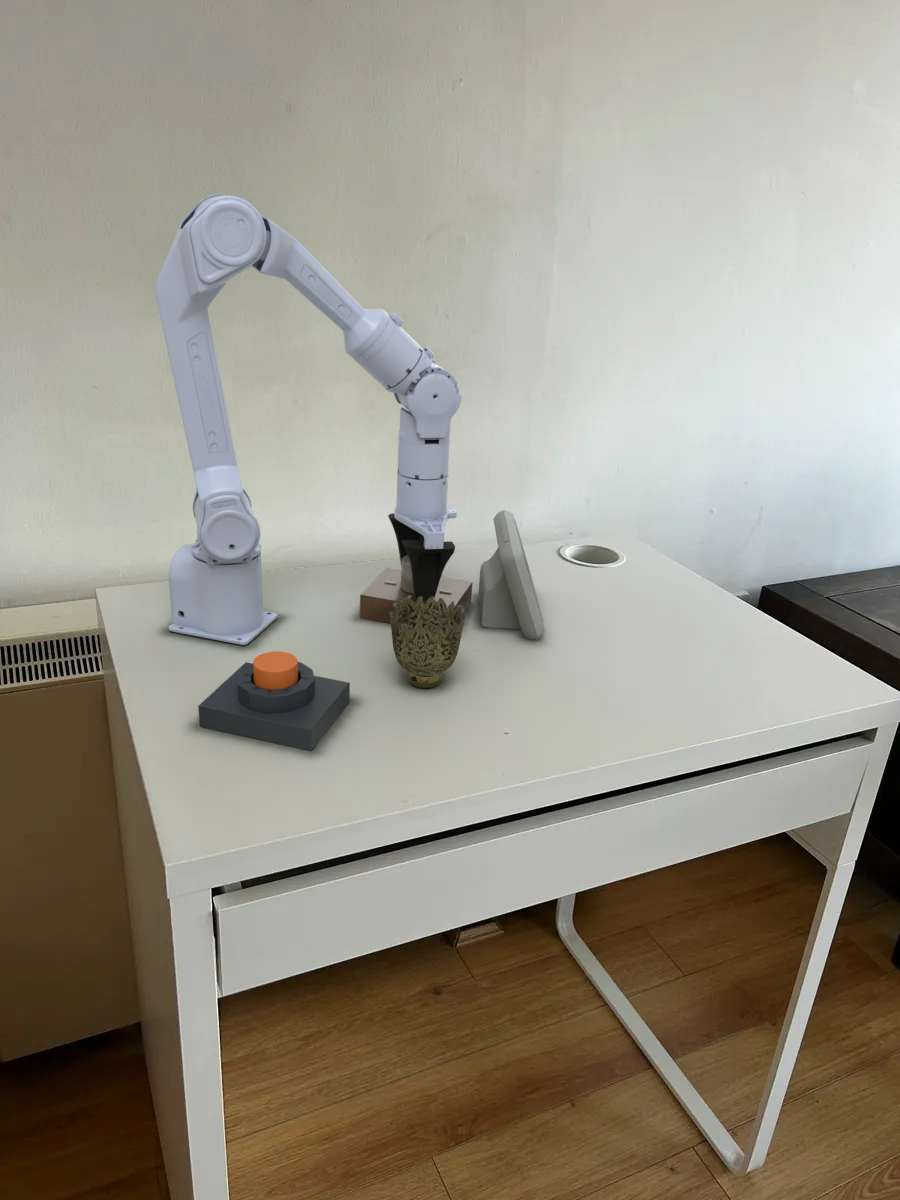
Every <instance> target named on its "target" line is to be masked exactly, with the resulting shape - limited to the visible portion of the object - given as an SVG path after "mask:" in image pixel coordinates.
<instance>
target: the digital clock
mask: <svg viewBox="0 0 900 1200" xmlns="http://www.w3.org/2000/svg"><path fill="white" fill-rule="evenodd" d="M517 524H518V523H517V522H516V518H515V516H514V513H513V512H511V511H508V510H506V509H502V510H500V511H498V512H497V513H496V515H495V516H494V517H493V525H494V531H495V536H496V542H497V549H496V550H495V551H494V553H493V554H492V556H491V557H490V558H489V559H487V560H486V561H483V562H482V563H481V566H480V569H479V581H478V594H477V595H478V605H479V615H480V624H481V626H482V627H484V628H487V629H488V628H489V629H490V628H492V629H510V630H511V629H512V630H521V632H522V636H524V637H525V638H528V639H530V640H537V639H539V638H540V637H541V636H542V635H543V633H544V632H545V625H544V620H543V615H542V612H541V608H540V603H539V600H538V597H537V593H536V588H535V584H534V580H533V577H532V576H533V575H532V573H531V570H530V567H529V566H530V565H529V561H528V560H527V556H526V552H525V549H524V546H523V542H522V538H521V535H520V531H519V527H518V525H517Z"/></svg>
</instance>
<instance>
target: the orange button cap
mask: <svg viewBox="0 0 900 1200" xmlns="http://www.w3.org/2000/svg"><path fill="white" fill-rule="evenodd" d="M298 662H299V661H298V658H297V656H295V654H292V653H290V652H287V651H280V650H279V651H278V650H277V651H276V650H275V651H267V652H264V653H261V654H259V655H257V656H256V657H255V658H254V659H253V662H252V663H253V672H254V683H255V685H256V686H257V687H260V688H265V689H270V690H273V689H285V688H287V687H290V686H293V685H296V683H297V682H298Z"/></svg>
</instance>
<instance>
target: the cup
mask: <svg viewBox="0 0 900 1200" xmlns="http://www.w3.org/2000/svg"><path fill="white" fill-rule="evenodd" d="M465 618H466V612H463V606H457V607H456V608H455V605H454V602H453V601H452V602H451V603H450V604H449V606H448V607H447V605H446V603H445V602H444V600H443V599H442V598H439V600H438V601H436V599H435V598H434V597H433V596H432V597H430V598H429V599H428V600H427V602H426V604H425V605H424V603H423V600H422V597H421V596H420V597H418V598H417V600H416V603H415V602H414V603H413V602H412V600H411V599H409V598H407V597H405V598H404V599H403V600H402V601H401V602H400V604H399V603H398V602H394V604H393V613H391V611H390V620H391V624H390V628H391V632H390V633H391V641H392V648H393V653H394V656H395V659H396V661H397V663H398V664H399V665H400V667H401V668H403V669H404V670H405V671H406V672H405V675H406V678H407V681H408V682H409V684H411V685H412V686H414V687H416V688H420V689H421V688H422V689H430V688H434V687H436V686H438V685H439V684H440V683H441V681H442V679H443V677H444V674H443V673H445V672H446V671H448V669H450V668H451V666H452V665H453V664H454V663H455V661H456V658H457V656H458V652H459V649H460V645H461V642H462V641H461V640H462V635H463V629H464V624H465V620H466V619H465Z"/></svg>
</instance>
